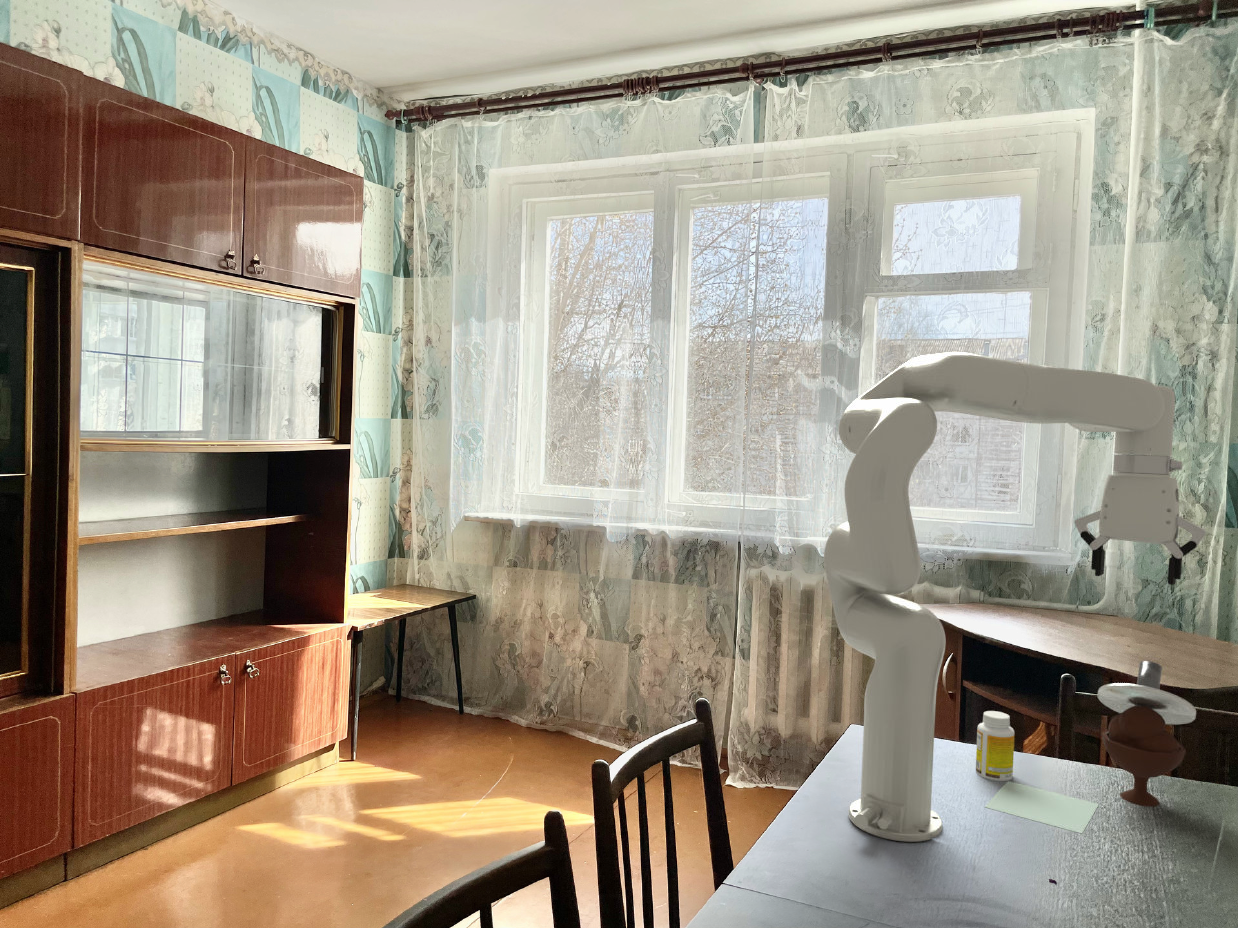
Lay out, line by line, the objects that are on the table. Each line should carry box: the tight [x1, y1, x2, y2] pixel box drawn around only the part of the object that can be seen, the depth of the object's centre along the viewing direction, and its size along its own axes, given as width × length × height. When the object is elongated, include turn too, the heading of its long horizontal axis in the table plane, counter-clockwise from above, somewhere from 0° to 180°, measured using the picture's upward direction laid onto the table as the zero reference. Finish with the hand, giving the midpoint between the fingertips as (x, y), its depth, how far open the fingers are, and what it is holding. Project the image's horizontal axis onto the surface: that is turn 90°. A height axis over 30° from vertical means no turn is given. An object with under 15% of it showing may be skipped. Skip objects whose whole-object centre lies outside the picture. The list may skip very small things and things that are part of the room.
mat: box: [984, 780, 1100, 835], centre depth 132 cm, size 13×13×1 cm
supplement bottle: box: [975, 710, 1015, 782], centre depth 143 cm, size 6×6×10 cm
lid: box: [1097, 660, 1197, 725], centre depth 137 cm, size 13×13×7 cm
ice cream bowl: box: [1101, 706, 1187, 808], centre depth 135 cm, size 11×11×15 cm
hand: (1134, 579), depth 134 cm, fingers open, 9 cm apart
